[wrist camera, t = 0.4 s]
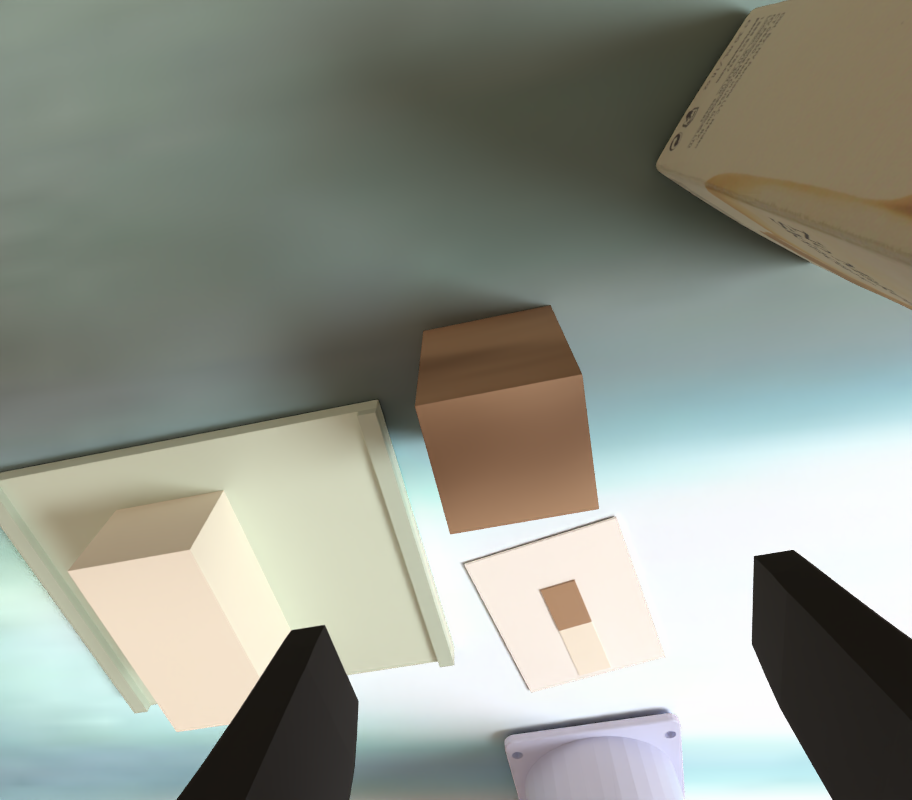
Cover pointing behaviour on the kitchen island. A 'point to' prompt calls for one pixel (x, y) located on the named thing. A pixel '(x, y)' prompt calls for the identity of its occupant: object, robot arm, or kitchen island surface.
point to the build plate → (256, 530)
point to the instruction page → (568, 605)
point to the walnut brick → (505, 421)
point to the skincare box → (811, 136)
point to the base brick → (184, 604)
